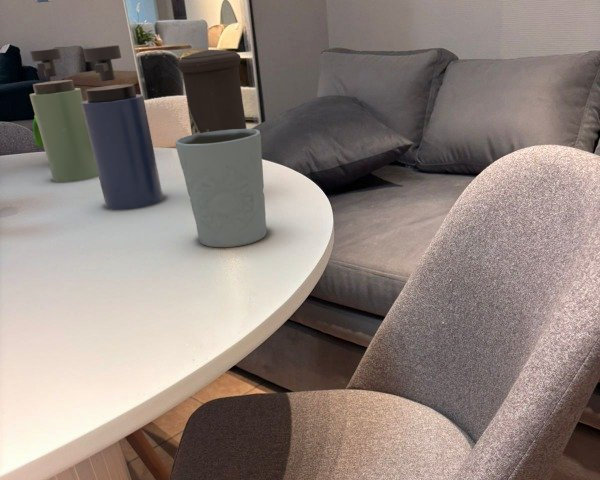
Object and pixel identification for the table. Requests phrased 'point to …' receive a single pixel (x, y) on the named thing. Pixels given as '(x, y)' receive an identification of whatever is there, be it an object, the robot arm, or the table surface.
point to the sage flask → (64, 130)
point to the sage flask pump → (46, 60)
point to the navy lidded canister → (122, 146)
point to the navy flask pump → (103, 60)
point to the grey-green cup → (225, 185)
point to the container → (213, 91)
